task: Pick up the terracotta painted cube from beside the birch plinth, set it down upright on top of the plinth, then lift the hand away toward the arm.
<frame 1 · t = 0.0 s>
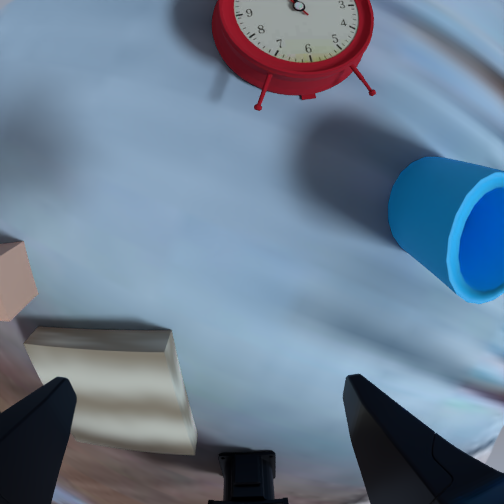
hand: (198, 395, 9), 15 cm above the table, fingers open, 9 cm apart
alarm clock: (283, 8, 17), on the table
mug: (448, 209, 22), on the table
cube: (12, 268, 23), on the table
plinth: (118, 387, 28), on the table
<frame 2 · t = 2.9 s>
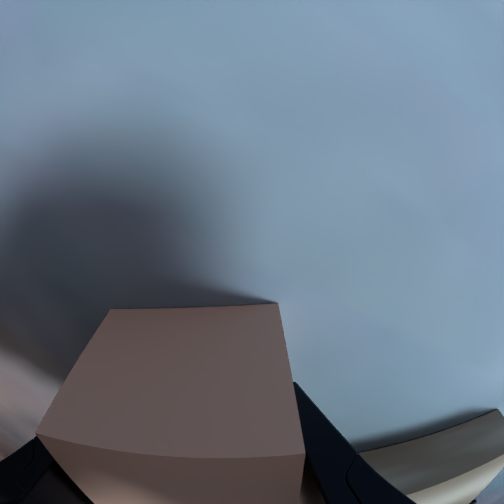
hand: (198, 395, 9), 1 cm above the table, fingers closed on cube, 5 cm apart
cube: (201, 373, 10), on the table, touching gripper
plinth: (364, 502, 14), on the table
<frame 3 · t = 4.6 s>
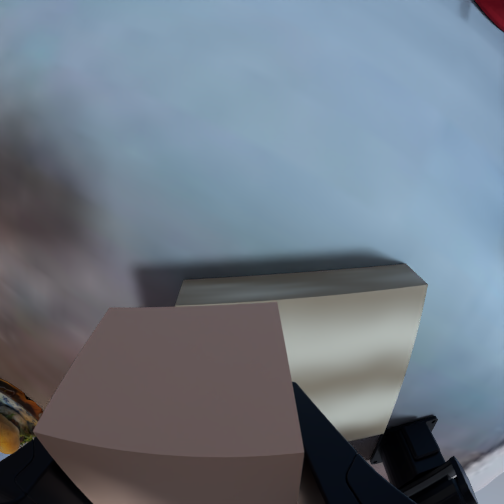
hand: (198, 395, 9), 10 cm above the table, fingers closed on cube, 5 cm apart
plate of food: (17, 411, 25), on the table
cube: (200, 372, 10), point 9 cm above the table, touching gripper
plinth: (298, 361, 22), on the table
when the fingers open (5 cm above the table, at t = 6.6 s): cube drops 1 cm, resting on plinth.
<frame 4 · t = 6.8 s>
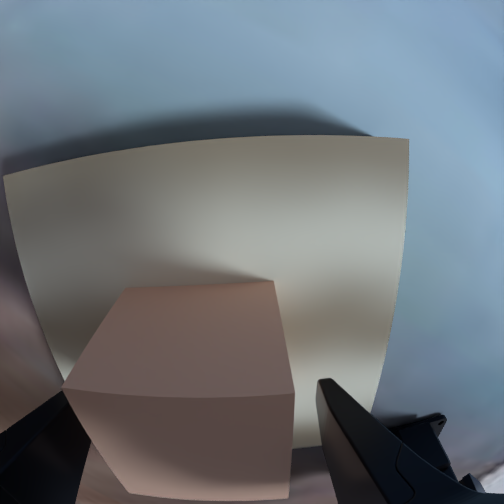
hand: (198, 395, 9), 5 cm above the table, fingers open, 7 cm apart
cube: (205, 346, 11), point 3 cm above the table, touching plinth
plinth: (211, 305, 14), on the table
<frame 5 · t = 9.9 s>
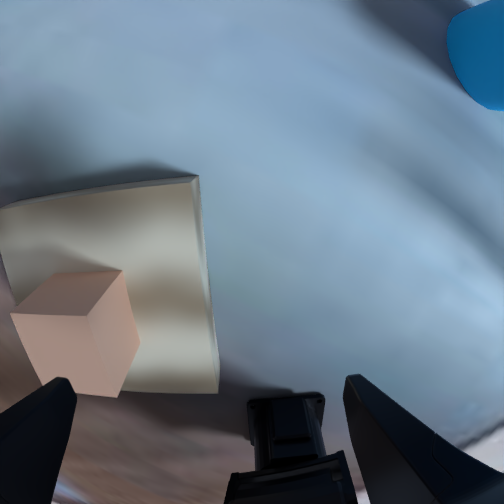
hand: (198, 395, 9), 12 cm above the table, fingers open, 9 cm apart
mug: (500, 67, 16), on the table
cube: (95, 309, 18), point 3 cm above the table, touching plinth
plinth: (111, 287, 21), on the table
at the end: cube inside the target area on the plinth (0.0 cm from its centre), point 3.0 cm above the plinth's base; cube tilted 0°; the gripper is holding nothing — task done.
